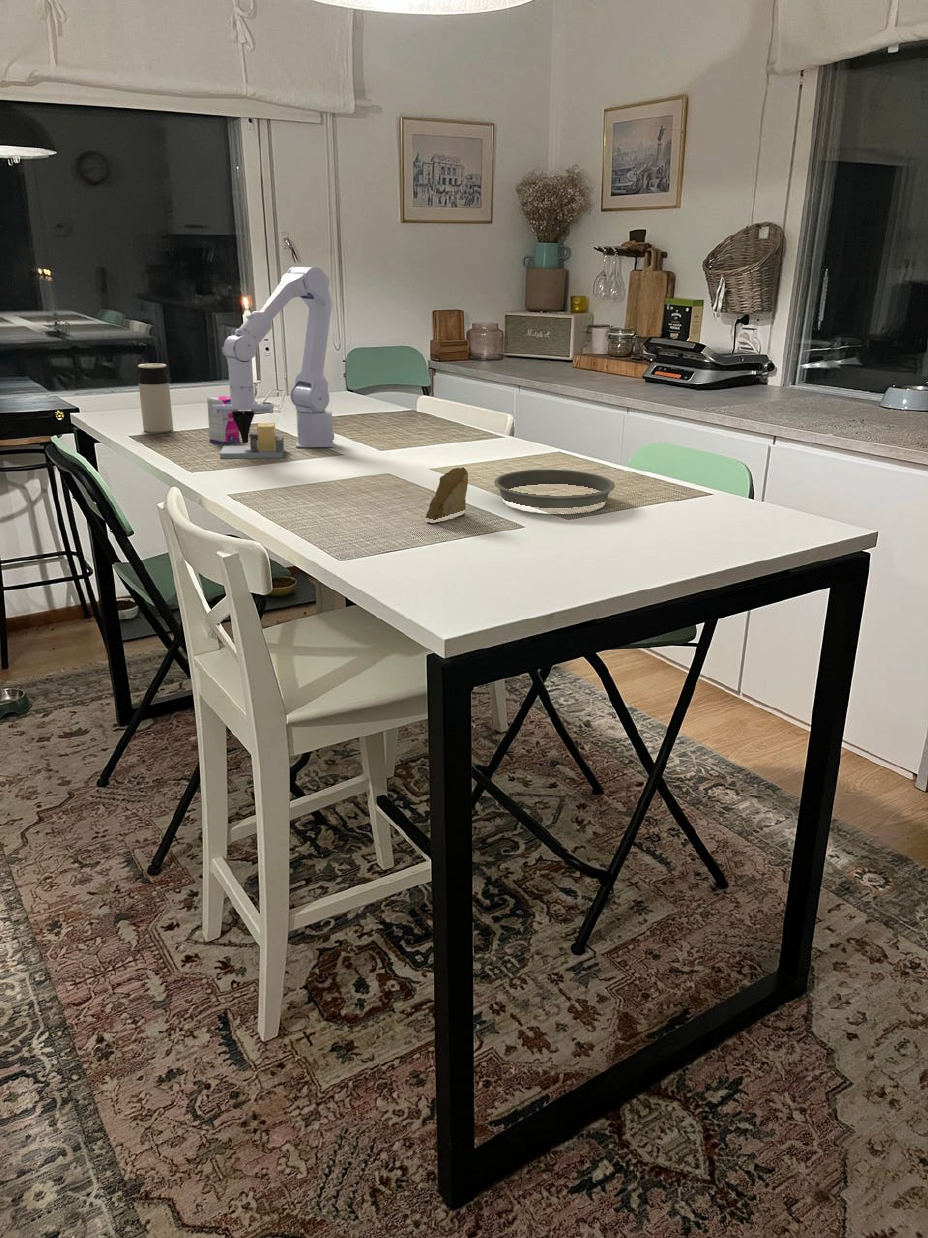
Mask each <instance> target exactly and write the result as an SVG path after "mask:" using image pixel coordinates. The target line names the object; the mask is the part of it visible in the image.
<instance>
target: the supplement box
mask: <svg viewBox="0 0 928 1238" xmlns="http://www.w3.org/2000/svg"><path fill="white" fill-rule="evenodd" d="M206 401H207V415H208V432H209V433H208V435H209V442H210V443H217V444H221V445H224V444H228V443H229V444H231V443H236V442H240V439H241V438H240V432H239V429H238V427H237V425H236V423H235V421H234V419H233V417H232V416H233V415H232V413H217V414H213V408H212V406H213V405H220V404H231V397H229V396H225V395H224V396H222V395H221V396H215V397H214V396H212V397H207V400H206ZM235 411H239V410H235Z"/></svg>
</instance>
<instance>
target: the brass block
mask: <svg viewBox="0 0 928 1238" xmlns="http://www.w3.org/2000/svg"><path fill="white" fill-rule="evenodd" d="M257 432H258V446H259V451H275V443H274V441H275V437H276V435H277V432H276V423H275V422H258V424H257Z"/></svg>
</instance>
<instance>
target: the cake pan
mask: <svg viewBox="0 0 928 1238" xmlns="http://www.w3.org/2000/svg"><path fill="white" fill-rule="evenodd" d="M493 483H494V485H495V487H496V488H498V489H499V493H500V496H501V497H502V498H503V499H504V500H505V501H508V502H513V503H516V504H520V505H525V506H531V507H539V508H573V507H583V506H590V505H594V504H598V503H601V502H605V501H606V500H607V501H608V497H609V494H610V492H612V491H613V490H614V489H615V487H616V485H615V483H614V482H613V481H612V480H611V479H609V478H608V477H605V476H602V475H600V474H596V473H590V472H584V471H577V470H569V469H568V470H567V469H549V468H548V469H547V468H546V469H528V470H517V471H513V472H512V471H511V472H508V473H503V474H502V475H499V476H498V477H496V478H495V479H494V481H493ZM538 484H568V485H576V486H584V487H588V488H593V489H596V490H599V491H601V492H597V493H592V494H585V495H572V496H550V495H536V494H528V493H521V492H517V491H513V490H509V489H511V488H514V487H519V486H526V485H538ZM502 498H501V499H502ZM607 501H606V502H607Z"/></svg>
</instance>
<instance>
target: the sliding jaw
mask: <svg viewBox="0 0 928 1238" xmlns="http://www.w3.org/2000/svg"><path fill="white" fill-rule="evenodd" d="M248 439H249V443H250V445H249V446H251V451H257V450H258V449H259V446H258V431H257V432H249V435H248Z"/></svg>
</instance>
